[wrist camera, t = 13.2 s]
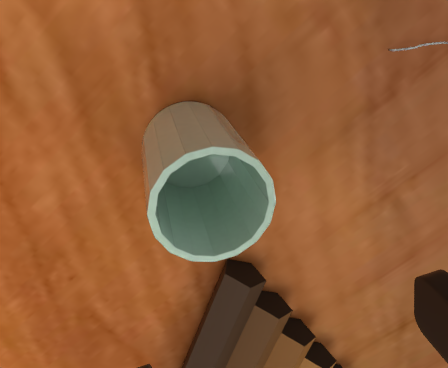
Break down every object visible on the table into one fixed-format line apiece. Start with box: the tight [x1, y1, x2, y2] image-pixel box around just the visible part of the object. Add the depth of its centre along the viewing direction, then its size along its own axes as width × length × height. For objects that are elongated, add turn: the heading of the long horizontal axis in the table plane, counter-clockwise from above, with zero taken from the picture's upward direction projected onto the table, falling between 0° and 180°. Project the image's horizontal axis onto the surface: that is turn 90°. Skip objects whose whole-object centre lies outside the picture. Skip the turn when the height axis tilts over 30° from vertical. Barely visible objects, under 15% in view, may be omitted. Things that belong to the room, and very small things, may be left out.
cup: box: [142, 101, 276, 262], centre depth 24 cm, size 6×6×9 cm
